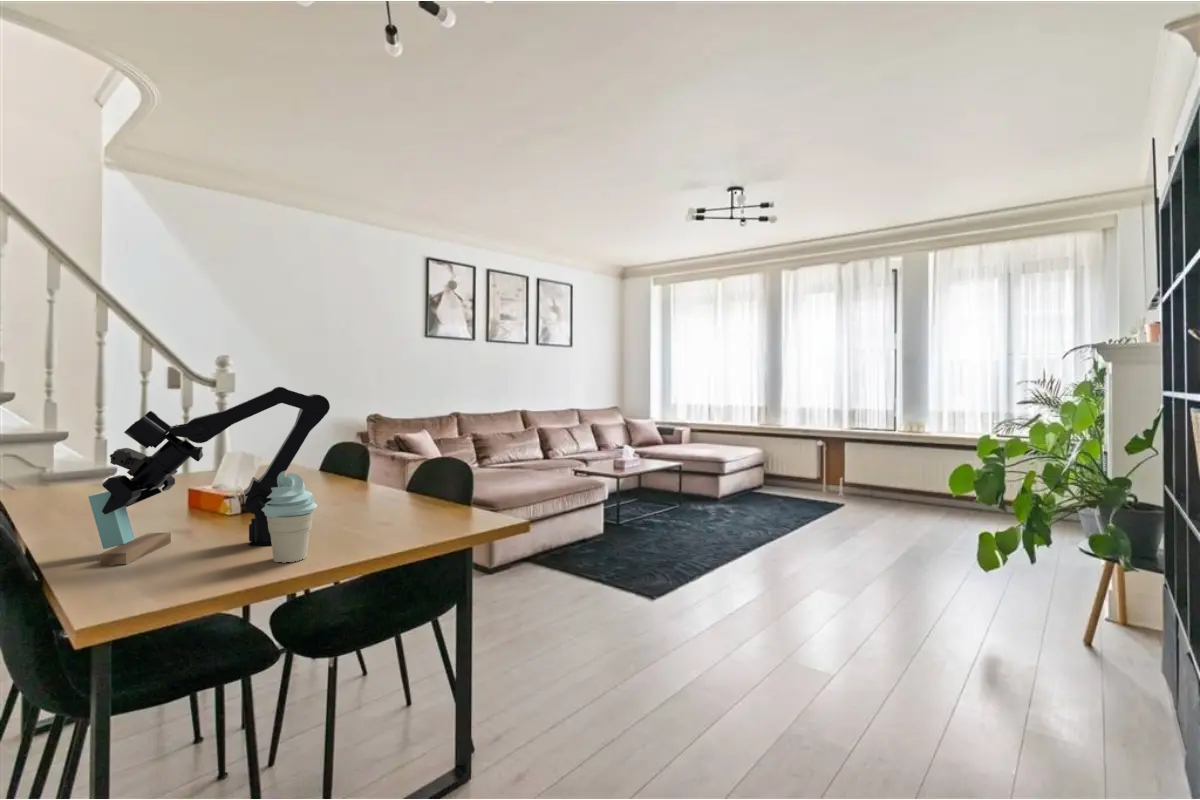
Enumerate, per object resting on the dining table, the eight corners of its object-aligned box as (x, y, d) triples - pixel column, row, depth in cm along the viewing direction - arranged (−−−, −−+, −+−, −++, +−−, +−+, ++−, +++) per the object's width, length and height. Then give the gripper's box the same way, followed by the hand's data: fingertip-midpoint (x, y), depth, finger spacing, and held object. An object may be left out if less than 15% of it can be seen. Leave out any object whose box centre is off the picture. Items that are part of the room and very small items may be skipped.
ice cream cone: (318, 561, 134) (318, 471, 134) (261, 568, 129) (261, 474, 128) (316, 550, 143) (316, 466, 143) (262, 555, 138) (262, 468, 137)
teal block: (134, 539, 140) (120, 487, 139) (123, 544, 136) (108, 490, 135) (115, 544, 139) (100, 491, 138) (103, 549, 135) (87, 495, 134)
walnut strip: (170, 542, 147) (170, 532, 147) (126, 564, 130) (125, 553, 130) (148, 543, 147) (148, 532, 146) (99, 565, 129) (99, 553, 129)
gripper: (160, 432, 147) (110, 478, 145) (112, 440, 128) (53, 492, 127) (196, 464, 148) (146, 510, 147) (153, 476, 130) (96, 529, 128)
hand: (112, 509), depth 137 cm, fingers open, 6 cm apart
